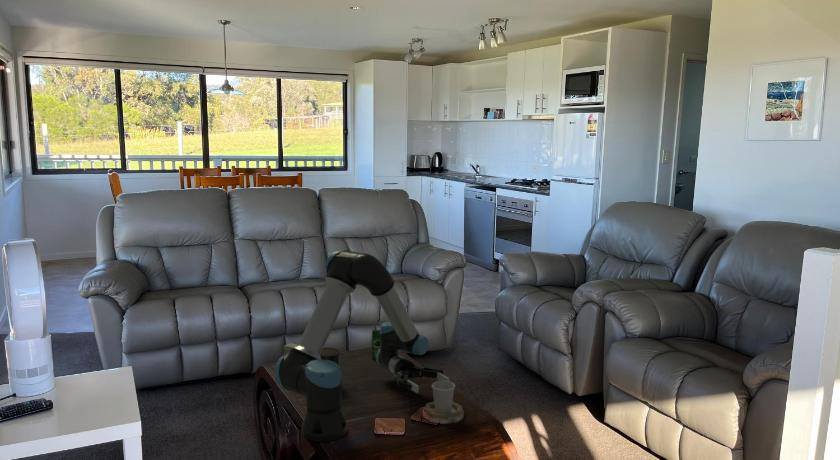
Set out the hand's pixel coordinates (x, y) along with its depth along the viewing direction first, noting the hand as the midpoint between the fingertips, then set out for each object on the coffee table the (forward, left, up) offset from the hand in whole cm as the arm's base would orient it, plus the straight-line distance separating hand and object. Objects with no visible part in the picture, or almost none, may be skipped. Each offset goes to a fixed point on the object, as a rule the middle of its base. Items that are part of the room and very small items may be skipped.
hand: (433, 385), depth 220 cm
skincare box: (-29, +60, -9) cm, 68 cm away
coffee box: (+11, +55, -9) cm, 57 cm away
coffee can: (-23, +40, -9) cm, 47 cm away
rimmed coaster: (0, -7, -9) cm, 11 cm away
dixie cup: (0, -7, -8) cm, 10 cm away
